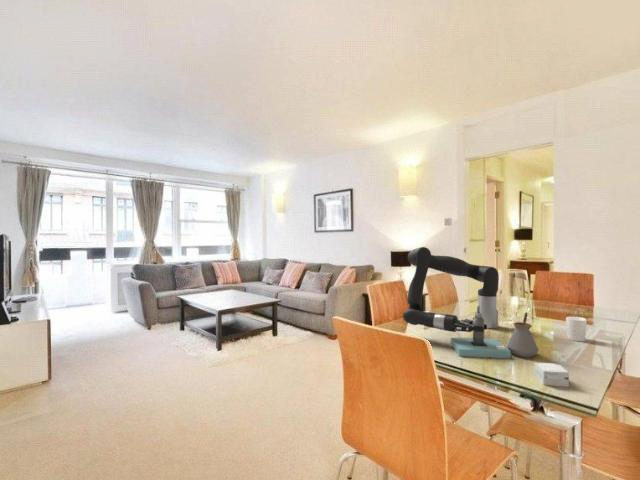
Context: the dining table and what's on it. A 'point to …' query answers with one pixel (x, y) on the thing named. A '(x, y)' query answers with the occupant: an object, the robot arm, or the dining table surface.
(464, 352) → the socket plate
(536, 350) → the coffee pot
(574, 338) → the white cup
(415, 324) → the robot arm
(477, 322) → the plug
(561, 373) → the small box
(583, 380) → the dining table surface
